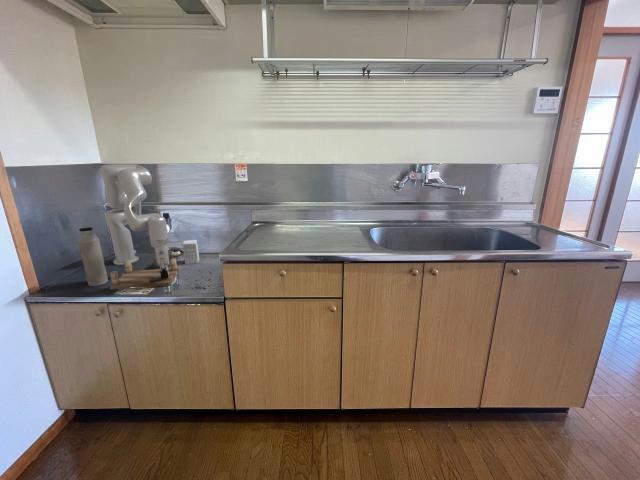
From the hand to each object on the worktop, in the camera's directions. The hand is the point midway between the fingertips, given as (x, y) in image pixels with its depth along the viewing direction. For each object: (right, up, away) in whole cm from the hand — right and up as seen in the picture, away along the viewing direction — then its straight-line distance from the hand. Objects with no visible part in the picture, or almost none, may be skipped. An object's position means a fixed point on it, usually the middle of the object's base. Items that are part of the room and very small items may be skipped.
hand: (164, 276), depth 142 cm
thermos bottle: (-33, -3, 0) cm, 33 cm away
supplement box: (+1, +5, +28) cm, 29 cm away
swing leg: (-2, -1, -1) cm, 3 cm away
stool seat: (-10, -2, +3) cm, 11 cm away
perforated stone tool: (-13, +4, +24) cm, 28 cm away
